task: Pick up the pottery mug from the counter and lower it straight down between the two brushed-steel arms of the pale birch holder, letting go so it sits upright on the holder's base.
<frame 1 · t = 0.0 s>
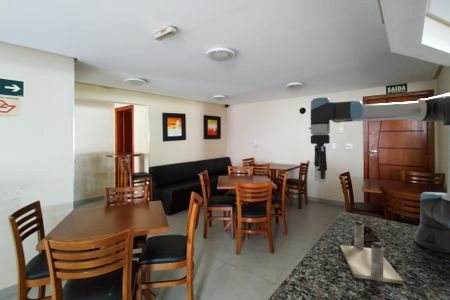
hand: (319, 183, 94), 28 cm above the counter, tool pointing down, fingers open, 13 cm apart
pottery mug: (366, 240, 101), on the counter
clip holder: (366, 263, 82), on the counter
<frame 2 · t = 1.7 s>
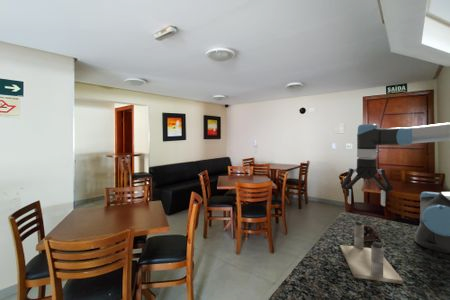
hand: (365, 204, 100), 17 cm above the counter, tool pointing down, fingers open, 13 cm apart
nothing on the counter moved.
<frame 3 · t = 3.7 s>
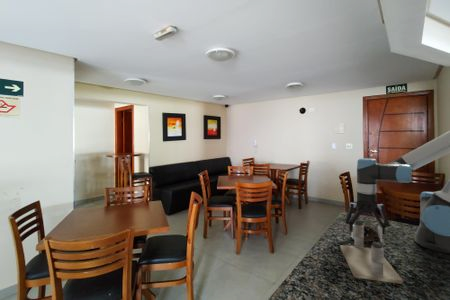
hand: (366, 239, 101), 0 cm above the counter, tool pointing down, fingers open, 10 cm apart
pottery mug: (366, 241, 101), on the counter, touching gripper
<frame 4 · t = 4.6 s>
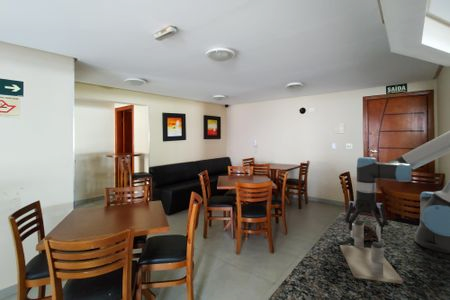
hand: (365, 238, 101), 1 cm above the counter, tool pointing down, fingers closed on pottery mug, 10 cm apart
pottery mug: (365, 240, 101), on the counter, touching gripper
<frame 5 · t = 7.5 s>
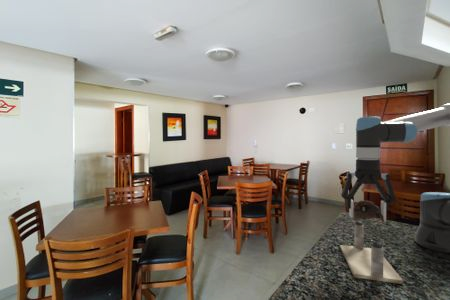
hand: (366, 217, 82), 17 cm above the counter, tool pointing down, fingers closed on pottery mug, 10 cm apart
pottery mug: (367, 220, 82), point 16 cm above the counter, touching gripper
when the fingers open (3 cm above the counter, at t = 10.4 s): pottery mug stays where it is, resting on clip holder.
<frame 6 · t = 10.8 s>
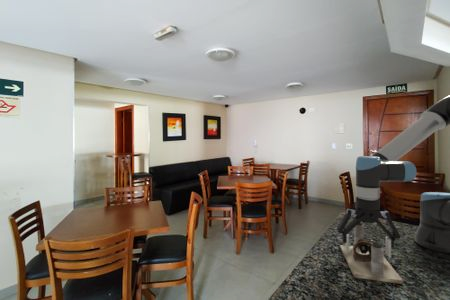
hand: (367, 253, 82), 4 cm above the counter, tool pointing down, fingers open, 13 cm apart
pottery mug: (366, 260, 82), point 1 cm above the counter, touching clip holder
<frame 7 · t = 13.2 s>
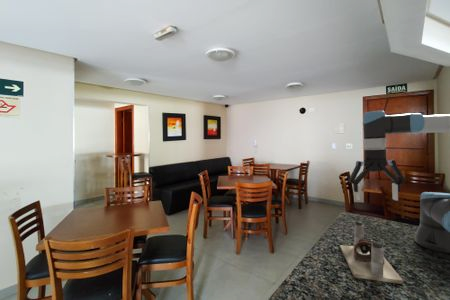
hand: (376, 199, 91), 22 cm above the counter, tool pointing down, fingers open, 13 cm apart
nothing on the counter moved.
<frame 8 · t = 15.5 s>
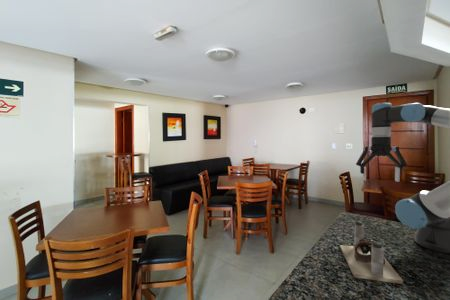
hand: (380, 180, 104), 27 cm above the counter, tool pointing down, fingers open, 13 cm apart
nothing on the counter moved.
at the end: pottery mug 0.4 cm off-centre on the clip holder, point 1.0 cm above the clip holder's base; pottery mug tilted 1°; the gripper is holding nothing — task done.
